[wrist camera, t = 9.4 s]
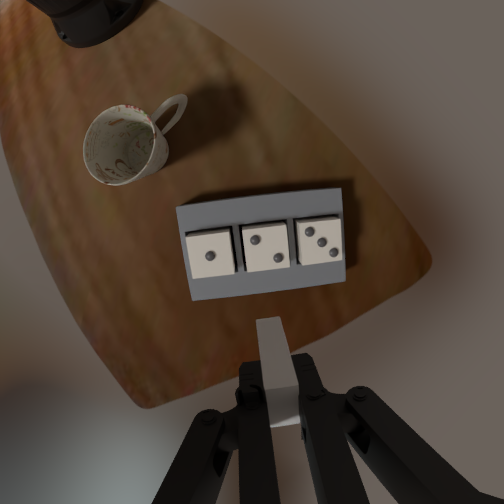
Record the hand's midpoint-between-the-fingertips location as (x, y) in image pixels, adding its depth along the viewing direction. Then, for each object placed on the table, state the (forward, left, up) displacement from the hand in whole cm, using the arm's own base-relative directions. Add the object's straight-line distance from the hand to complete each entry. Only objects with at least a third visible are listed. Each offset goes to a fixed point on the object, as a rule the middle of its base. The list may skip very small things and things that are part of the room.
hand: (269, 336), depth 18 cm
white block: (-2, -5, -20) cm, 21 cm away
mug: (-17, -11, -21) cm, 29 cm away
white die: (-2, +1, -20) cm, 20 cm away
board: (-2, +1, -21) cm, 21 cm away
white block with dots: (-2, +8, -20) cm, 21 cm away
